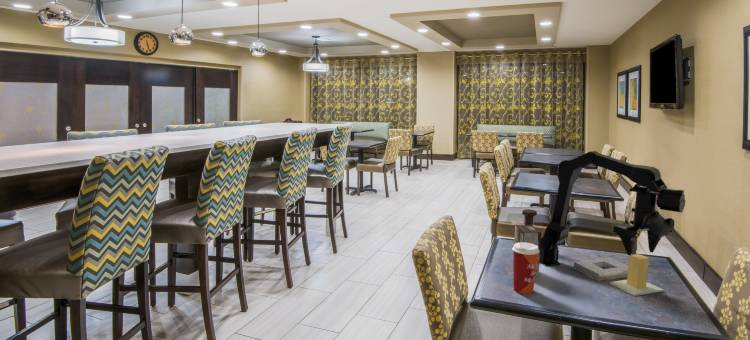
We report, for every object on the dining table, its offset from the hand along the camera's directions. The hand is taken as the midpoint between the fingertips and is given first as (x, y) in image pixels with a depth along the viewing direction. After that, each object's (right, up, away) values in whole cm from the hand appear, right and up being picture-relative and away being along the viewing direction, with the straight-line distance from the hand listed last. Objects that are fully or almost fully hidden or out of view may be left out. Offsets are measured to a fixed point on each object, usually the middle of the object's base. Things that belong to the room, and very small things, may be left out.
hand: (640, 253), depth 156 cm
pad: (0, -11, +2) cm, 12 cm away
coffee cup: (-38, -12, -1) cm, 40 cm away
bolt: (-23, -5, +42) cm, 48 cm away
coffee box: (-33, -9, +14) cm, 37 cm away
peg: (0, -11, +2) cm, 11 cm away
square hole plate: (-5, -9, +15) cm, 18 cm away
